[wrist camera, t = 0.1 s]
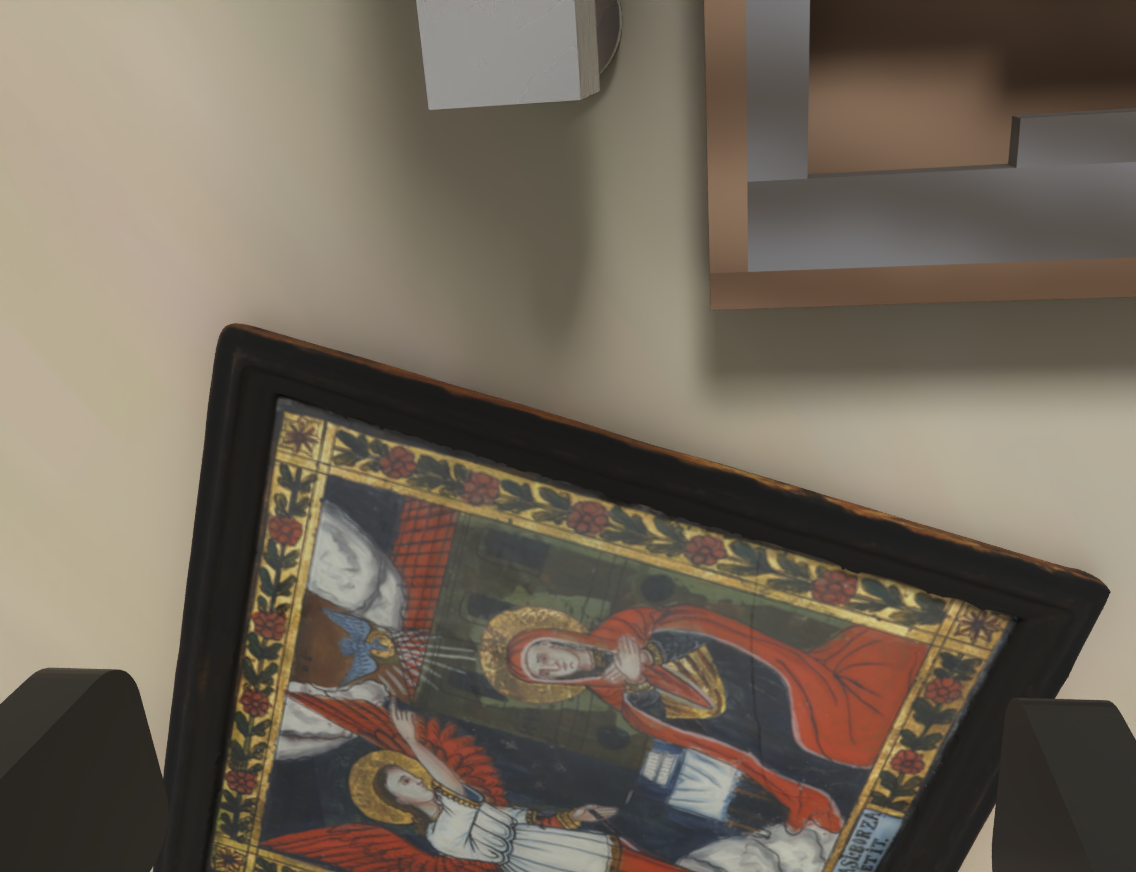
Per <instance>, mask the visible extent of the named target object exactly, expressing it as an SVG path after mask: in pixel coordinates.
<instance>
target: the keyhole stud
mask: <svg viewBox="0 0 1136 872" xmlns="http://www.w3.org/2000/svg"><path fill="white" fill-rule="evenodd" d="M416 4H417V13H418V21H419V30H420V39H421V47H422V56H423V65H424V73H425V82H426V91H427V99H428V108H429V110H437V109H452V108H468V107H483V106H498V105H513V104H528V103H543V102H558V101H573V100H582V99H584V98H586V97H588V96H590V95H592V94H594V93H596V92H599V91H600V85H599V75H600V74H601V73H602V72H603V71H604V70H605V69H606V67H607V66H608V65H609V63H610V62H611V60H612V59H613V57H614V55H615V53H616V50H617V48H618V45H619V42H620V38H621V32H622V10H621V5H620V0H416Z"/></svg>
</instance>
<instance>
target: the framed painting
mask: <svg viewBox="0 0 1136 872" xmlns="http://www.w3.org/2000/svg"><path fill="white" fill-rule="evenodd" d="M1109 594H1110V590H1109V589H1108V587H1107V586H1106V585H1105V584H1104V583H1103V582H1102V581H1101V580H1100V579H1098V578H1096V577H1094V576H1093V575H1091V574H1089V573H1086V572H1084V571H1081V570H1078V569H1074V568H1068V567H1064V566H1061V565H1057V564H1053V563H1050V562H1047V561H1043V560H1040V559H1036V558H1033V557H1030V556H1026V555H1023V554H1020V553H1016V552H1013V551H1009V550H1006V549H1003V548H1000V547H996V546H993V545H990V544H986V543H983V542H980V541H976V540H973V539H970V538H966V537H963V536H960V535H956V534H953V533H950V532H946V531H943V530H940V529H936V528H933V527H929V526H926V525H922V524H919V523H915V522H912V521H909V520H905V519H902V518H899V517H896V516H892V515H889V514H886V513H883V512H879V511H876V510H873V509H870V508H867V507H863V506H860V505H856V504H853V503H850V502H846V501H843V500H839V499H836V498H832V497H829V496H826V495H822V494H819V493H816V492H813V491H810V490H806V489H803V488H799V487H796V486H793V485H790V484H786V483H783V482H780V481H776V480H773V479H769V478H766V477H763V476H759V475H756V474H752V473H749V472H745V471H742V470H739V469H736V468H733V467H729V466H726V465H722V464H719V463H715V462H712V461H708V460H705V459H701V458H697V457H694V456H690V455H686V454H683V453H679V452H675V451H672V450H668V449H664V448H661V447H657V446H654V445H650V444H647V443H644V442H640V441H637V440H634V439H631V438H628V437H625V436H621V435H618V434H615V433H612V432H609V431H606V430H603V429H599V428H596V427H593V426H590V425H587V424H583V423H580V422H577V421H574V420H570V419H567V418H564V417H561V416H557V415H554V414H551V413H547V412H544V411H541V410H538V409H534V408H531V407H528V406H524V405H521V404H517V403H513V402H510V401H507V400H503V399H500V398H496V397H492V396H489V395H485V394H482V393H478V392H475V391H471V390H468V389H464V388H461V387H458V386H454V385H451V384H447V383H444V382H441V381H437V380H434V379H431V378H428V377H425V376H422V375H418V374H415V373H412V372H408V371H405V370H402V369H399V368H395V367H392V366H389V365H385V364H382V363H379V362H375V361H372V360H368V359H365V358H362V357H358V356H354V355H351V354H348V353H344V352H340V351H337V350H333V349H329V348H325V347H322V346H319V345H315V344H312V343H308V342H305V341H302V340H298V339H295V338H291V337H288V336H285V335H281V334H278V333H275V332H271V331H268V330H264V329H261V328H257V327H254V326H250V325H245V324H237V323H235V324H230V325H227V326H226V327H225V328H224V329H223V330H222V332H221V334H220V336H219V339H218V343H217V347H216V353H215V359H214V366H213V374H212V381H211V388H210V395H209V402H208V411H207V420H206V430H205V440H204V450H203V458H202V466H201V473H200V481H199V490H198V497H197V505H196V513H195V521H194V530H193V539H192V547H191V555H190V562H189V569H188V577H187V585H186V594H185V603H184V611H183V620H182V629H181V639H180V647H179V654H178V660H177V667H176V673H175V682H174V691H173V699H172V707H171V715H170V723H169V733H168V741H167V749H166V757H165V766H164V776H163V781H164V785H165V789H166V792H167V797H168V805H169V818H168V827H167V832H166V836H165V840H164V844H163V847H162V849H161V852H160V854H159V856H158V858H157V861H156V862H155V864H154V866H153V872H958V871H959V869H960V867H961V865H962V863H963V861H964V859H965V858H966V856H967V854H968V852H969V851H970V849H971V847H972V845H973V843H974V842H975V840H976V838H977V836H978V834H979V832H980V831H981V829H982V827H983V825H984V823H985V822H986V820H987V818H988V817H989V815H990V813H991V811H992V809H993V807H994V806H995V804H996V798H997V788H998V778H999V769H1000V759H1001V749H1002V739H1003V729H1004V720H1005V714H1006V709H1007V706H1008V703H1009V702H1010V700H1011V699H1012V698H1039V699H1055V698H1056V696H1057V694H1058V692H1059V691H1060V689H1061V687H1062V686H1063V684H1064V683H1065V681H1066V679H1067V678H1068V677H1069V674H1070V672H1071V670H1072V667H1073V665H1074V663H1075V661H1076V659H1077V657H1078V655H1079V653H1080V651H1081V649H1082V647H1083V645H1084V643H1085V641H1086V640H1087V638H1088V636H1089V634H1090V632H1091V630H1092V628H1093V626H1094V625H1095V623H1096V621H1097V619H1098V617H1099V615H1100V613H1101V611H1102V609H1103V608H1104V606H1105V603H1106V601H1107V599H1108V597H1109Z"/></svg>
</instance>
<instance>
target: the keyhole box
mask: <svg viewBox="0 0 1136 872" xmlns="http://www.w3.org/2000/svg"><path fill="white" fill-rule="evenodd" d="M704 22H705V70H706V118H707V167H708V215H709V263H710V310H727V309H759V308H791V307H823V306H855V305H887V304H920V303H952V302H984V301H1016V300H1048V299H1080V298H1112V297H1136V0H704Z"/></svg>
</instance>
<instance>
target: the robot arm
mask: <svg viewBox="0 0 1136 872" xmlns="http://www.w3.org/2000/svg"><path fill="white" fill-rule="evenodd" d="M168 818H169V805H168V797H167V792H166V789H165V785H164V781H163V777H162V774H161V770H160V766H159V763H158V759H157V755H156V752H155V748H154V744H153V740H152V737H151V733H150V729H149V726H148V722H147V718H146V715H145V711H144V707H143V703H142V700H141V696H140V692H139V690H138V687H137V684H136V683H135V681H134V679H133V678H132V677H131V676H130V675H129V674H128V673H127V672H125V671H122V670H113V669H78V668H45V669H41V670H39V671H37V672H35V673H34V674H33V675H32V676H30V677H29V678H28V679H27V680H26V681H25V682H24V683H23V684H22V685H20V686H19V687H18V688H17V689H16V690H15V691H14V692H13V693H12V694H11V695H10V696H9V697H7V698H6V699H5V700H4V701H3V702H2V703H1V704H0V872H150V870H151V869H152V867H153V866H154V864H155V862H156V861H157V858H158V856H159V854H160V852H161V849H162V847H163V844H164V840H165V836H166V832H167V827H168ZM992 871H993V872H1136V740H1135V738H1134V736H1133V734H1132V732H1131V731H1130V729H1129V727H1128V725H1127V723H1126V722H1125V720H1124V718H1123V716H1122V715H1121V713H1120V711H1119V710H1118V708H1117V707H1116V706H1115V705H1114V704H1113V703H1112V702H1110V701H1107V700H1074V699H1039V698H1012V699H1011V700H1010V702H1009V703H1008V706H1007V709H1006V714H1005V720H1004V729H1003V739H1002V749H1001V759H1000V769H999V778H998V788H997V798H996V808H995V818H994V828H993V838H992Z"/></svg>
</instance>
